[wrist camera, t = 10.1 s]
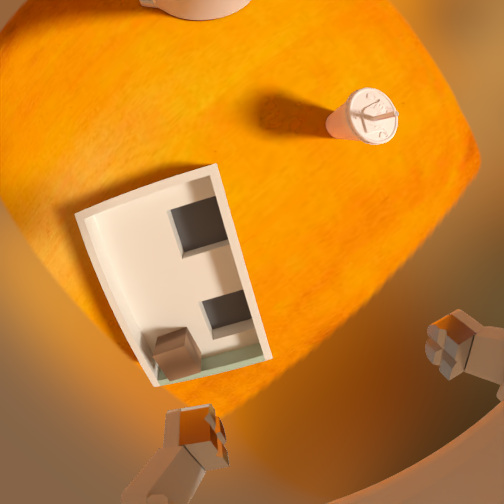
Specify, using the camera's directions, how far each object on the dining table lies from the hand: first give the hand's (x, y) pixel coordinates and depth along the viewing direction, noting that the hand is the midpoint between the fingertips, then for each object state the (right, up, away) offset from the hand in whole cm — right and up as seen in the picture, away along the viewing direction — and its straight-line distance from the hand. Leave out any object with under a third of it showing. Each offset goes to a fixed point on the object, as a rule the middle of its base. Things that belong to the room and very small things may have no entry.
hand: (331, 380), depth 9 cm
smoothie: (+9, +21, +26) cm, 35 cm away
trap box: (-12, +1, +29) cm, 31 cm away
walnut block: (-13, -8, +28) cm, 32 cm away
